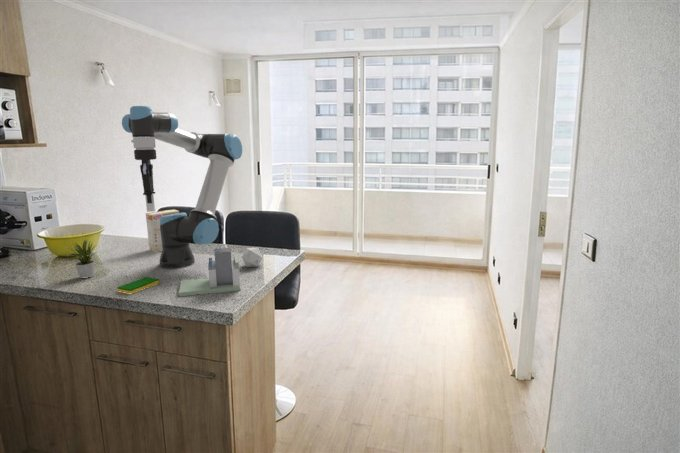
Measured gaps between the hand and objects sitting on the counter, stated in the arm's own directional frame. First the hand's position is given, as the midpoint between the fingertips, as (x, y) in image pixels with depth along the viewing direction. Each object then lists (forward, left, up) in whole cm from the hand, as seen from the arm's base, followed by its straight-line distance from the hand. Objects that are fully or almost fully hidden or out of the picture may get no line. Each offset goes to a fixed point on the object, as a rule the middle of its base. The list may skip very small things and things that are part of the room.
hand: (151, 211), depth 170 cm
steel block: (+10, +26, -28) cm, 39 cm away
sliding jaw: (+10, +21, -28) cm, 36 cm away
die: (-14, +38, -30) cm, 50 cm away
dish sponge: (+2, -7, -30) cm, 31 cm away
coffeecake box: (-59, -3, -30) cm, 66 cm away
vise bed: (+10, +20, -29) cm, 37 cm away
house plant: (-20, -31, -30) cm, 47 cm away
